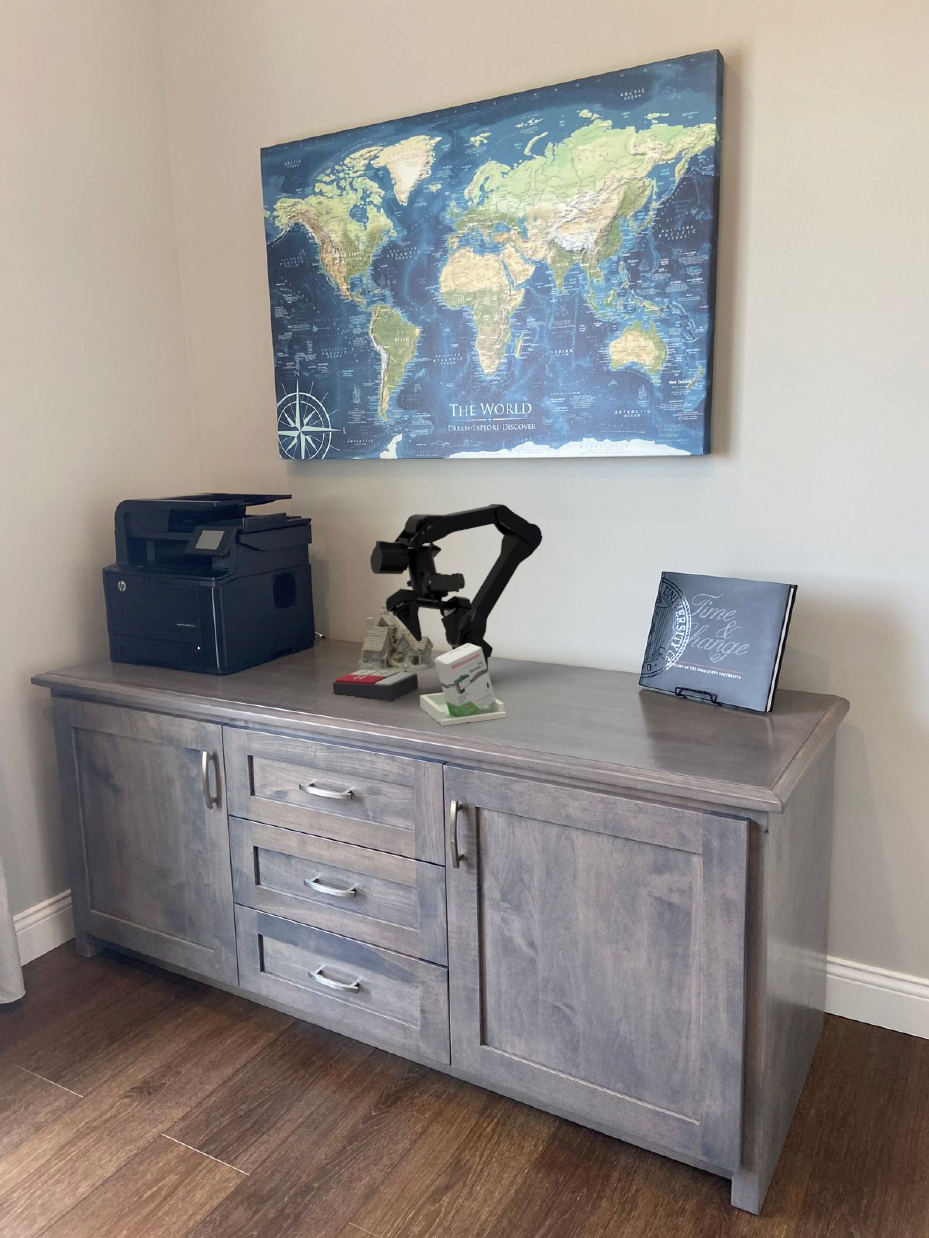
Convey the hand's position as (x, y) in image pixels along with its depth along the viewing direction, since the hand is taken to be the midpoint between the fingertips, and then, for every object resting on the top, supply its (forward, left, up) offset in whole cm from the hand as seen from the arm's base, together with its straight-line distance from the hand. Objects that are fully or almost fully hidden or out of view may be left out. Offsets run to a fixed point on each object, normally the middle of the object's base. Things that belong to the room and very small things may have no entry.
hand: (437, 642), depth 189 cm
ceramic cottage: (0, -33, -13) cm, 36 cm away
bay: (-2, +9, -13) cm, 16 cm away
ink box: (-3, +11, -11) cm, 16 cm away
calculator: (+10, -14, -13) cm, 22 cm away
